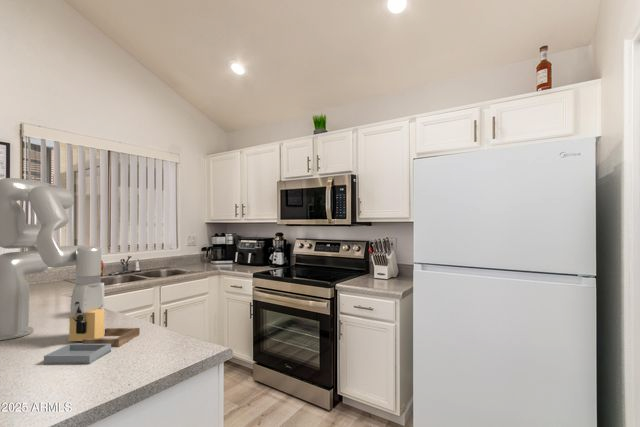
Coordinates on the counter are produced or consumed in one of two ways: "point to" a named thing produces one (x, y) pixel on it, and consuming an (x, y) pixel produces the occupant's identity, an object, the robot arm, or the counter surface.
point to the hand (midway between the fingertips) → (87, 330)
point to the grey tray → (77, 354)
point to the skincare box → (102, 295)
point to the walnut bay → (124, 334)
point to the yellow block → (89, 326)
